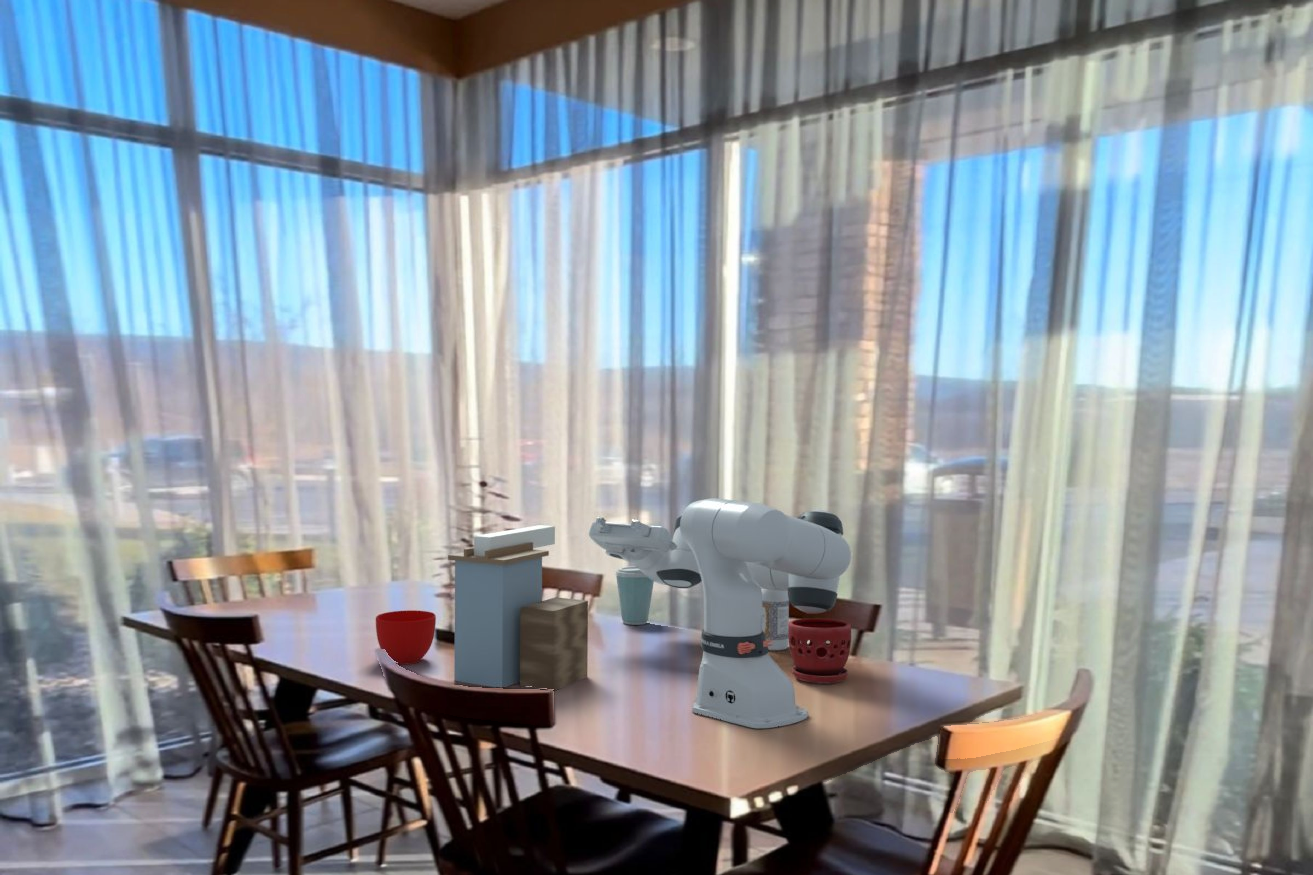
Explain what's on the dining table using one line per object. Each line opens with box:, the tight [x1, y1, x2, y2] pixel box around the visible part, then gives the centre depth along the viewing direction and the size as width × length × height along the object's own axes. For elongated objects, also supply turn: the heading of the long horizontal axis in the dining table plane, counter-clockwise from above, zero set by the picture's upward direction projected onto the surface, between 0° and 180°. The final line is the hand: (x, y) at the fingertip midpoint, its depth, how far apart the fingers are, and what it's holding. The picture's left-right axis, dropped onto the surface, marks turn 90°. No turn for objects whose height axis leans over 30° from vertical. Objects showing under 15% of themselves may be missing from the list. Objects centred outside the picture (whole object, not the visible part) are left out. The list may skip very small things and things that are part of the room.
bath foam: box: [761, 588, 790, 651], centre depth 241 cm, size 7×7×20 cm
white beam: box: [473, 524, 556, 557], centre depth 217 cm, size 24×4×4 cm, turn 152°
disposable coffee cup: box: [615, 565, 655, 626], centre depth 269 cm, size 11×11×15 cm
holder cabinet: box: [447, 542, 550, 688], centre depth 212 cm, size 16×14×28 cm
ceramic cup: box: [375, 609, 437, 665], centre depth 227 cm, size 13×17×10 cm
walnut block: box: [519, 596, 589, 691], centre depth 209 cm, size 13×8×16 cm, turn 152°
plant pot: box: [788, 617, 852, 685], centre depth 214 cm, size 13×13×12 cm
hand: (616, 521), depth 234 cm, fingers open, 8 cm apart
